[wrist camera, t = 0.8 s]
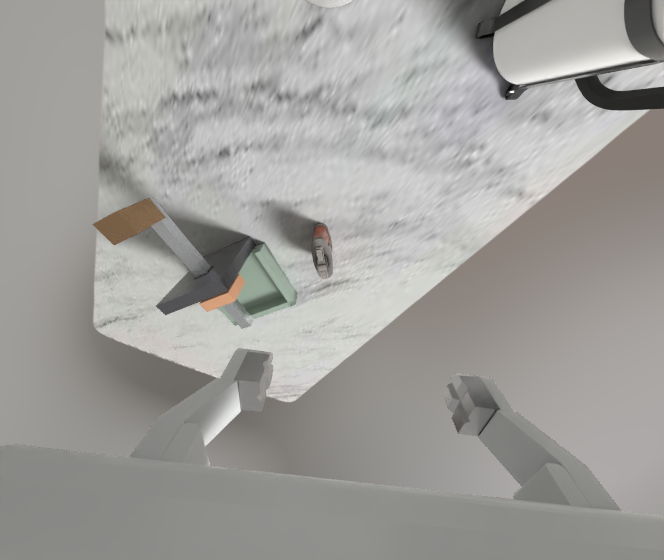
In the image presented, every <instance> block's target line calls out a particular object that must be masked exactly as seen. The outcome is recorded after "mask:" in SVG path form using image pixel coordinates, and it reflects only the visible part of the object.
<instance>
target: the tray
mask: <svg viewBox="0 0 664 560" xmlns="http://www.w3.org/2000/svg"><path fill="white" fill-rule="evenodd" d="M238 274H240V275H241V277H242V278H243V279H244V281H245V284H244V286H243V287H242V289H241V291H240V293H239V295H238V297H237V299H238V301H239V302H240V303H241V304H242V305H243V307H244V308H245V309H246V310H247V312H248V313H249V314H250V315H251V316H252V318H253V319H255V318H258V317H261V316H264V315H267V314H270V313H272V312H275V311H278V310H281V309H284V308H287V307H289V306H292V305H295V303H296V298H297V292H296V291H295V289H294V288H293V286H292V284H291V283H290V281H289V280H288V278H287V277H286V275H285V273H284V272H283V270H282V269H281V267H280V266H279V264H278V262H277V261H276V259H275V258H274V256H273V255H272V253H271V251H270V250H269V248H268V247H267V245H266V244H265V243H262V244H260V245H258V246H255V247H254V248H253V250H252V252H251V253H250V255H249V257H248V258H247V260H246V262H245V263H244V265H243V267H242V268H241V270H240V271H239V273H238ZM218 308H219V309H220V310H221V311H222V312H223V313H224V314H225V315H226V316H227V318H228V319H229V320H230V321H231V322H232V323H233V324H234V325H235V326H236V325H238V324H237V323H236V321H235V320H234V319H233V318H232V317H231V316H230V315H229V314H228V312H227V311H226V310H225V309H224V308H223V307H222V306H221V307H218Z"/></svg>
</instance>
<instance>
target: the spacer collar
mask: <svg viewBox="0 0 664 560" xmlns="http://www.w3.org/2000/svg"><path fill="white" fill-rule="evenodd" d="M244 284H245V281H244V279H243V278H242V277H241V275H240V274H238V275H237V276H236V278H235V280H234V281H233V283H232V285H231V286H230V288H229V290H228V291H226V292H223V293H220V294H218V295H215V296H213V297H210V298H208V299H205V300H203V301H201V302H200V305H201V306H202V307H203V308H204V309H205V310H206V311H207V312H208V311H211V310H213V309H216V308H218V307H221V306H224V305H226V304H229V303H232V302H234V301H236V299H237V297H238V295H239V293H240V291H241V289H242V287H243V286H244Z"/></svg>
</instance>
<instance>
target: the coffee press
mask: <svg viewBox="0 0 664 560" xmlns="http://www.w3.org/2000/svg"><path fill="white" fill-rule="evenodd" d="M493 36H494V41H493V54H494V60H495V64H496V67H497V69H498V71H499V73H500V74H501V75H502V77H503V78H504V79H506V80H507V81H509V82H510V83H512V84H511V85H510V87H509V88H508V90H507V91H506V94H505V99H506V100H516V99H517V98H519V96H520V95H521V94H522V93H523V92H524V91H525V90H527V89H528V88H531V87H535V86H540V85H545V84H551V83H556V82H561V81H567V80H572V79H575V81H576V83H577V86H578V88H579V90H580V91H581V93H582V95H583V96H584V97H585V98H586V99H587V100H588V101H589V102H590V103H592V104H593V105H595V106H597V107H600V108H603V109H608V110H645V109H662V108H663V109H664V87H657V88H648V89H639V90H630V91H614V90H611V89H609V88H607V87H605V86H604V85H603V84H601V82H600V81H599V79H598V77H597V75H599V74H604V73H610V72H615V71H620V70H626V69H631V68H637V67H642V66H648V65H653V64H657V63H661V62H664V0H506V2H505V4H504V6H503V8H502V10H501V13H500V15H499V16H498V17H496V18H494V19H490V20H487V21H484V22H481V23H479V24H478V27H477V32H476V36H475V39H482V38H488V37H493ZM520 85H526V86H522V87H519V86H520ZM518 87H519V88H518Z"/></svg>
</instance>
